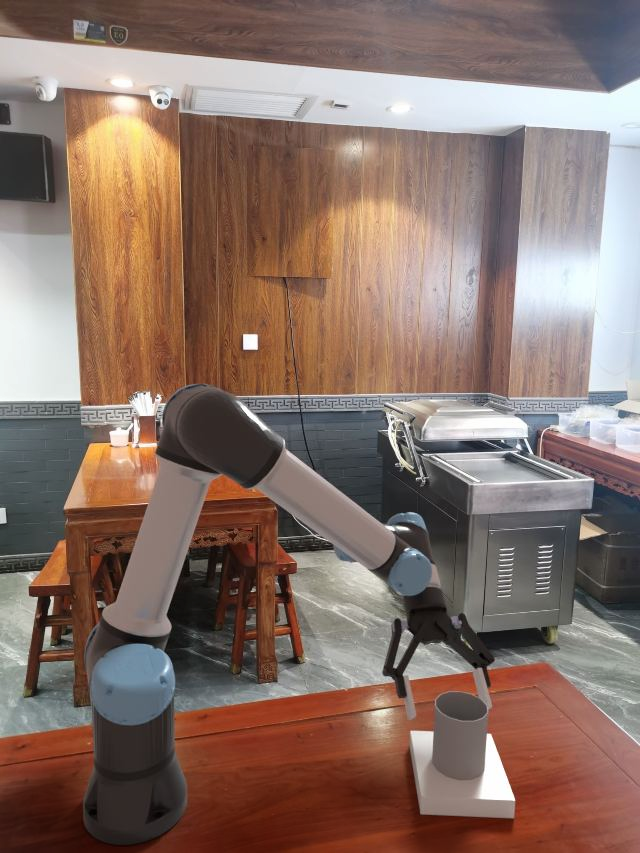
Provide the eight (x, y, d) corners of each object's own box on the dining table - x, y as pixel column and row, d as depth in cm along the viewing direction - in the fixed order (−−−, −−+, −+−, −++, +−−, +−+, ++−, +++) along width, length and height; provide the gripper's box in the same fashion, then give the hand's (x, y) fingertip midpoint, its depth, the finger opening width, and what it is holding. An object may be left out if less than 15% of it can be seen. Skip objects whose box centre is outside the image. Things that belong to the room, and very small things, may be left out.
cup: (421, 759, 105) (424, 703, 104) (452, 739, 111) (455, 685, 109) (464, 788, 99) (467, 728, 98) (494, 765, 104) (498, 708, 103)
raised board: (420, 814, 98) (421, 796, 97) (409, 746, 113) (410, 730, 113) (513, 818, 97) (515, 800, 97) (489, 749, 113) (490, 733, 112)
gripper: (476, 595, 126) (509, 710, 114) (353, 604, 121) (374, 726, 109) (490, 580, 120) (527, 700, 108) (362, 589, 115) (385, 716, 103)
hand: (450, 713), depth 109 cm, fingers open, 13 cm apart
